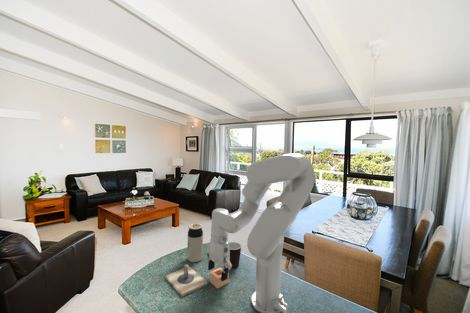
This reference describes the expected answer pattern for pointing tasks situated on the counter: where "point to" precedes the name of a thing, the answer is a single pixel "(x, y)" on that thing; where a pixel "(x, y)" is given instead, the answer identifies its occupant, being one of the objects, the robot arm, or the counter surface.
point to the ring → (218, 278)
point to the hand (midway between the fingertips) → (217, 274)
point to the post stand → (186, 280)
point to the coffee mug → (234, 253)
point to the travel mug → (195, 243)
